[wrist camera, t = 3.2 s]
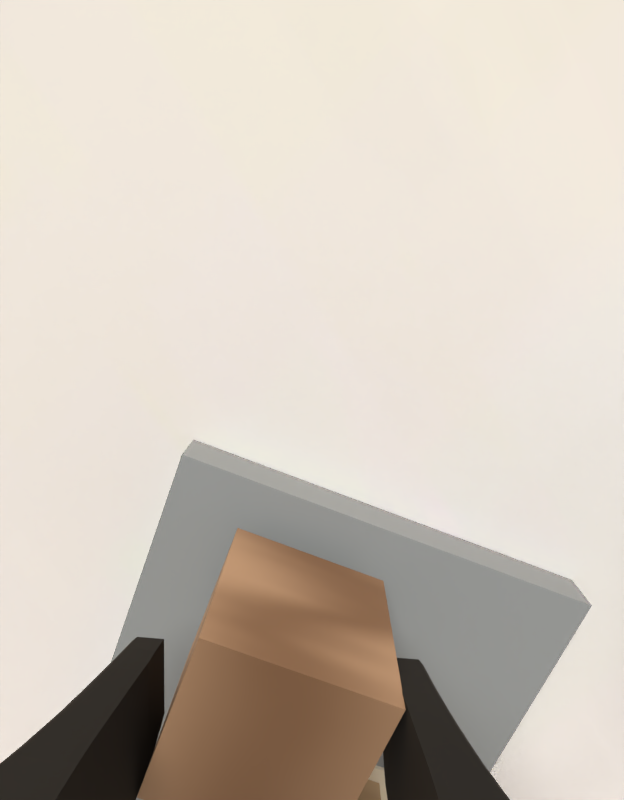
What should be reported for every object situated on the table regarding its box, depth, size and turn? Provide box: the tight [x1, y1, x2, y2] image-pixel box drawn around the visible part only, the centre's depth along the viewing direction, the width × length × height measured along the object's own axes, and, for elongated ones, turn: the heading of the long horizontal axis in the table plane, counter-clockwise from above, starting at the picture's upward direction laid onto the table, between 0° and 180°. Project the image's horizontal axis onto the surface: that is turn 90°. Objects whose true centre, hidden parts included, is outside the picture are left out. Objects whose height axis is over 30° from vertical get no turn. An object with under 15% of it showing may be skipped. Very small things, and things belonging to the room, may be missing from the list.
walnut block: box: [137, 528, 406, 800], centre depth 12 cm, size 4×4×4 cm
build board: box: [111, 440, 592, 800], centre depth 16 cm, size 12×16×1 cm
